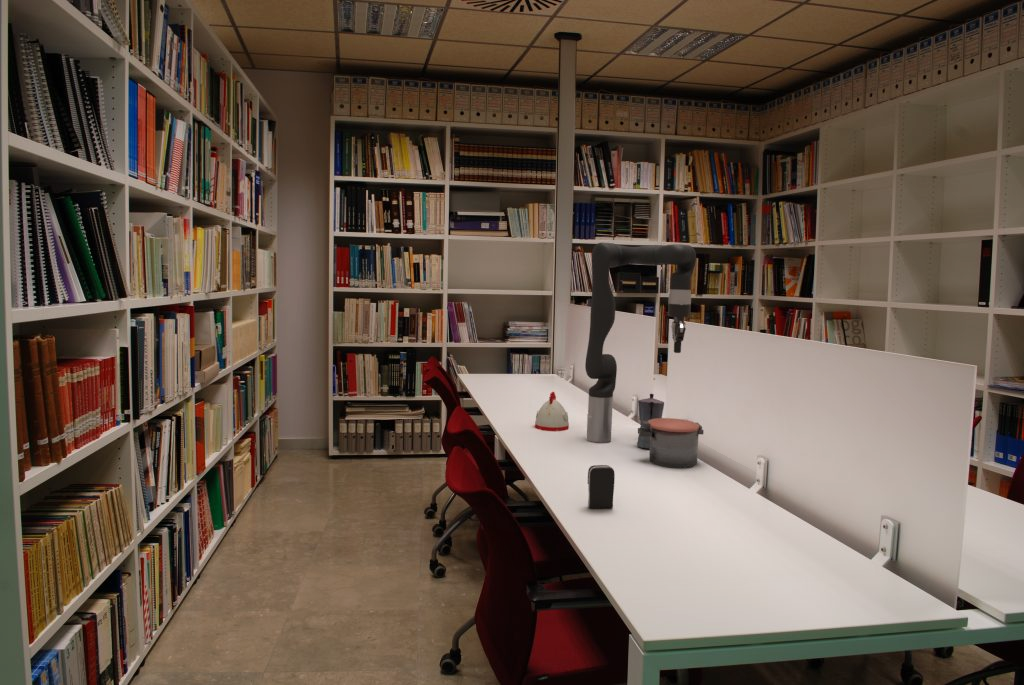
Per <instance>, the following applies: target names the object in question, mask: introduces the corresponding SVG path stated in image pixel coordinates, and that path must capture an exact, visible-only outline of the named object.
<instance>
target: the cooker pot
mask: <svg viewBox="0 0 1024 685" xmlns="http://www.w3.org/2000/svg"><path fill="white" fill-rule="evenodd" d="M637 434H638V436H639V435H640V436H645V437H650V449H649V455H648V457H649V458H648V460H649V462H650V463H651V464H653V465H655V466H658V467H663V468H667V469H668V468H669V469H690V468H691V469H692V468H694V466H695V465H696V466H697V465H698V456H699V455H698V454H699V436H700V435H704V429H703V428H702V429H701V430H697V431H694V432H670V431H663V430H658V429H654V428H651V430H650V428H640V427H638V428H637ZM696 466H695V467H696Z"/></svg>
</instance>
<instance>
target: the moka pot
mask: <svg viewBox="0 0 1024 685" xmlns="http://www.w3.org/2000/svg"><path fill="white" fill-rule="evenodd" d="M654 395H655V394H654V393H649V397H647V398H643V399H639V400H637V403H638V418H639V421H640V427H639V428H650V430H651V427H644V426H643V425H642V421H648V420H650V419H656V418H663V412H664V407H665V402H664V401H662V400H660V399H656V398H654ZM636 446H637V448H642V449H647V450H650V437H645V436H640V435H639V434H638V438H637V443H636Z"/></svg>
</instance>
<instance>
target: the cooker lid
mask: <svg viewBox="0 0 1024 685" xmlns="http://www.w3.org/2000/svg"><path fill="white" fill-rule="evenodd" d="M642 425H643V426H644V427H651V428H654V429H658V430H663V431H670V432H694V431H697V430H701V429H703V426H702V425H701V424H700V423H699V422H694V421H692V420H688V419H681V418H670V417H665V418H664V417H662V418H656V419H650V420H648V421H642Z"/></svg>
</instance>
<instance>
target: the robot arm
mask: <svg viewBox="0 0 1024 685" xmlns="http://www.w3.org/2000/svg"><path fill="white" fill-rule="evenodd" d="M696 262H697V252H696V250H695V248H694V247H693V246H691V245H688V244H679V243H677V244H667V245H662V244H651V245H649V244H648V245H641V246H626V245H625V246H624V245H621V244H616V243H610V242H598V243H596V245H594V247H593V249H592V252H591V277H592V278H591V282H592V283H591V302H590V316H589V317H590V318H589V321H590V322H589V336H588V344H587V351H586V356H585V372H586V375H587V376H588V378H590V379H592V380H597V381H596V383H595V384H593V385H592V386H591V387H590V388H588V405H587V406H588V408H587V409H588V410H587V421H586V440H587V442H593V443H609V442H611V441H612V427H613V426H612V424H613V402H614V391H615V389H616V384H617V371H618V368H617V367H618V366H617V361H616V358H615V357H614V355H612V354H609V353H607V354H606V353H603V352H604V344H605V341H606V339H607V336H608V335H609V333H610V331H611V329H612V328H613V326H614V323H615V319H616V298H615V296H614V294H613V291H612V287H611V284H610V269H611V268H616V267H621V266H626V265H641V266H642V265H644V266H662V265H663V266H664V265H671V266H677V267H676V270H675V272H673V273H672V274H671V275H670V279H669V280H670V282H669V292H668V303H667V305H668V306H667V316H669V317H672V318H673V321H672V322H671V332H672V333H671V334H672V341H673V352H674V353H675V354H680V353H682V352H681V351H682V343H683V341H684V337H685V334H686V329H687V328H686V322H685V318H690V317H691V308H692V307H691V306H692V304H691V303H692V294H691V293H692V292H691V291H692V290H691V288H692V277H693V275H694V274H693V273H694V270H695V267H696Z"/></svg>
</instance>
